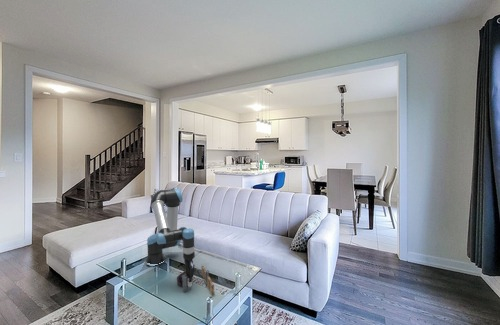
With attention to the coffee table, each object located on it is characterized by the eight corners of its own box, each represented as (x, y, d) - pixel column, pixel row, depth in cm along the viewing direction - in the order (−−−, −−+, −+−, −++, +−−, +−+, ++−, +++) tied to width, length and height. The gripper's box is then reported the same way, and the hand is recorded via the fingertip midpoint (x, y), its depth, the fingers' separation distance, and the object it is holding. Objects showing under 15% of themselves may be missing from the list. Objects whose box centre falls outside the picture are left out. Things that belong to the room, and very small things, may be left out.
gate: (207, 283, 161) (207, 273, 161) (206, 284, 160) (205, 274, 160) (203, 275, 172) (203, 265, 172) (201, 275, 172) (201, 266, 171)
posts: (182, 290, 153) (181, 275, 153) (208, 283, 161) (208, 268, 161) (182, 293, 151) (182, 277, 150) (209, 285, 158) (209, 270, 158)
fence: (207, 286, 158) (206, 276, 157) (209, 285, 158) (208, 275, 158) (212, 296, 147) (211, 285, 147) (214, 295, 148) (213, 284, 147)
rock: (176, 285, 161) (184, 290, 155) (174, 274, 160) (181, 279, 153) (190, 276, 170) (198, 280, 163) (188, 265, 169) (196, 270, 162)
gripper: (197, 254, 151) (198, 288, 152) (190, 247, 161) (191, 279, 163) (187, 257, 146) (188, 292, 148) (180, 250, 157) (181, 283, 158)
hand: (189, 285), depth 155 cm, fingers closed
